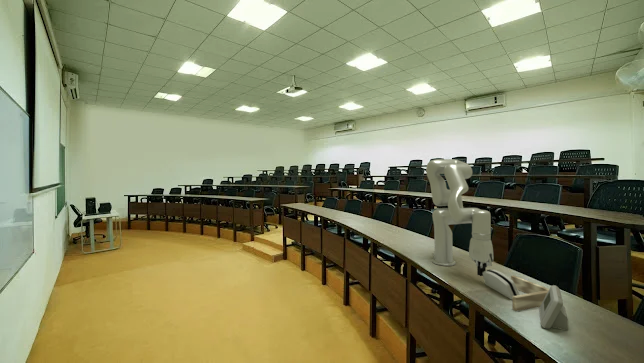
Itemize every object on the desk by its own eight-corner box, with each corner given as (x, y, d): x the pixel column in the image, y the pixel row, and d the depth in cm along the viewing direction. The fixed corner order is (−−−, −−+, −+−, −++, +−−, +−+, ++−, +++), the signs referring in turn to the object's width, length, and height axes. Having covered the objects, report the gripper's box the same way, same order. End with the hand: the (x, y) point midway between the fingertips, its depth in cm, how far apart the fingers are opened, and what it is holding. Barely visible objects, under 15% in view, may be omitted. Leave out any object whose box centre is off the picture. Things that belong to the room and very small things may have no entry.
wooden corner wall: (478, 291, 119) (478, 280, 119) (514, 286, 124) (514, 275, 124) (516, 311, 102) (516, 297, 102) (556, 303, 107) (556, 291, 107)
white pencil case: (524, 300, 111) (516, 277, 111) (514, 304, 111) (506, 282, 110) (495, 283, 128) (488, 264, 127) (486, 287, 127) (479, 268, 127)
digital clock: (540, 308, 104) (541, 281, 103) (572, 318, 97) (573, 288, 97) (530, 325, 93) (530, 294, 93) (565, 336, 86) (565, 303, 86)
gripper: (462, 233, 134) (462, 270, 135) (488, 240, 120) (488, 282, 120) (475, 232, 136) (475, 269, 137) (501, 239, 122) (501, 280, 122)
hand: (481, 275), depth 129 cm, fingers closed
